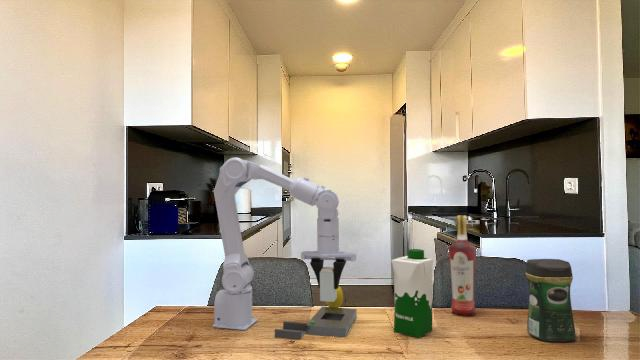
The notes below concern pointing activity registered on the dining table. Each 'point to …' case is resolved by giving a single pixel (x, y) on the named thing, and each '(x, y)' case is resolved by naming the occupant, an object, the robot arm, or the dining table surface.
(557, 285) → the coffee jar
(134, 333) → the dining table surface
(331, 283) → the plug
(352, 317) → the port panel
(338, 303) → the lemon
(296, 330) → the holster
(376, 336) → the dining table surface
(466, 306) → the liquor
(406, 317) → the milk carton
